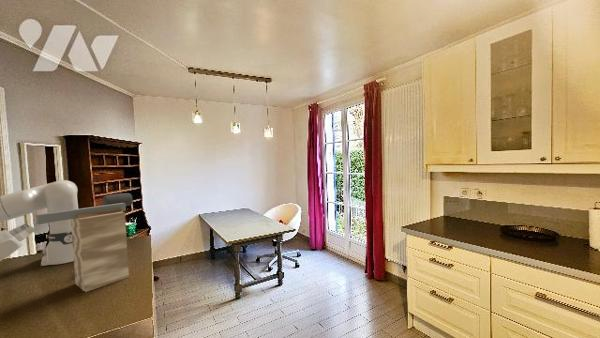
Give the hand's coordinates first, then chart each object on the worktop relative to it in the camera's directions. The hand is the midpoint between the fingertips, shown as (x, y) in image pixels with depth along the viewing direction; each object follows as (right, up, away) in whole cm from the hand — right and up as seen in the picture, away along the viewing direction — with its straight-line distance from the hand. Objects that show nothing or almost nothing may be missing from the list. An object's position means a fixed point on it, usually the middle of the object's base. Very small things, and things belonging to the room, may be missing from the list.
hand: (30, 226), depth 87 cm
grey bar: (+8, +1, +12) cm, 15 cm away
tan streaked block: (+12, -25, +16) cm, 32 cm away
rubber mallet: (-8, -25, +56) cm, 62 cm away
